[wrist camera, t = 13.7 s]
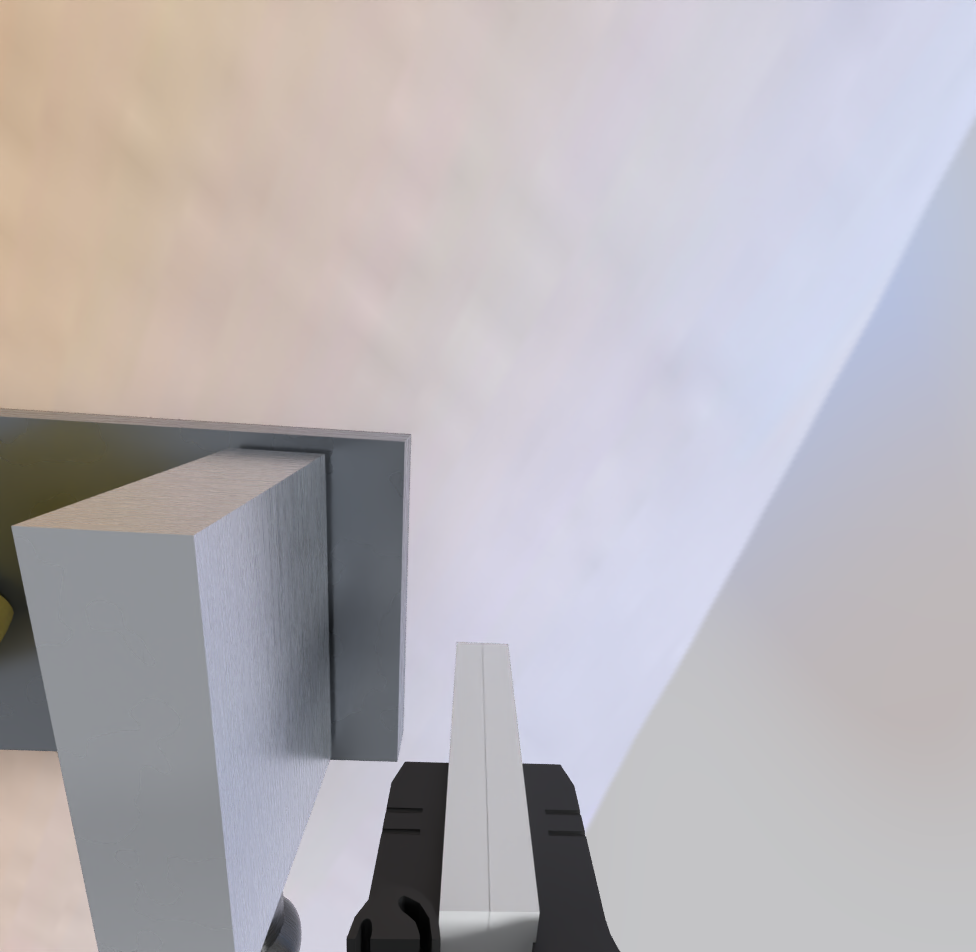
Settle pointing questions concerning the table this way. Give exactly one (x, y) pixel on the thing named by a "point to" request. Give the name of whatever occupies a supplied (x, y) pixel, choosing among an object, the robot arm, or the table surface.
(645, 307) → the table surface
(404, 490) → the vise base
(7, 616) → the flower pot
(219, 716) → the block
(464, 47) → the table surface
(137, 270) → the table surface
